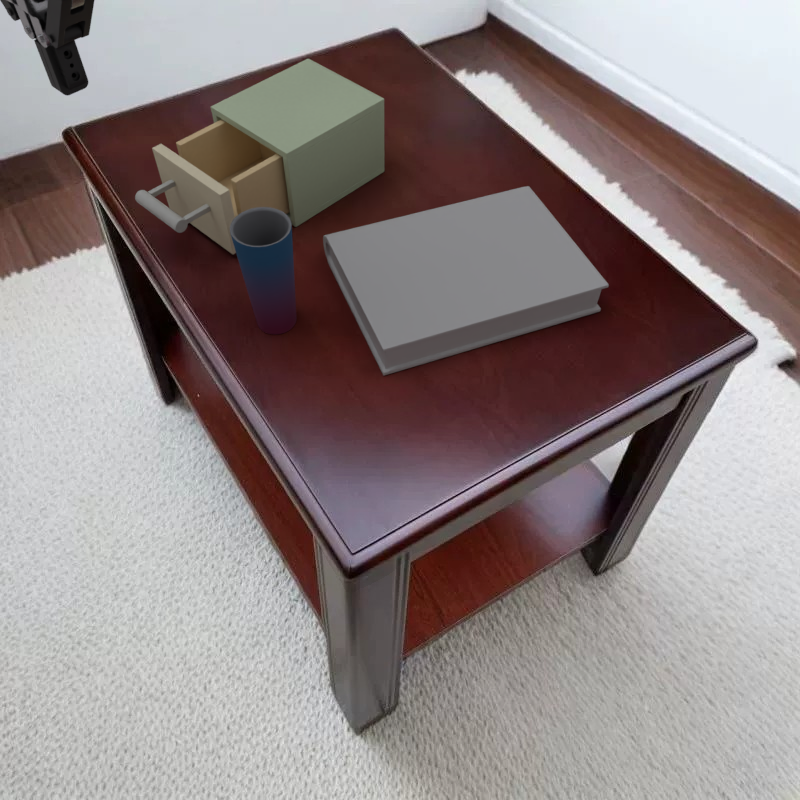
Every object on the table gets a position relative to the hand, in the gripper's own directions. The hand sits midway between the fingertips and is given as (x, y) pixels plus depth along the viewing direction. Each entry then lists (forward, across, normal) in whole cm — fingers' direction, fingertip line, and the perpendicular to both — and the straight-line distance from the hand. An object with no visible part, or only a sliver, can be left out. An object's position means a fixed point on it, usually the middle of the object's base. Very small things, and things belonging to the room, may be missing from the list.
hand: (71, 88), depth 54 cm
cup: (+25, +9, +8) cm, 28 cm away
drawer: (+24, -7, +16) cm, 30 cm away
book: (+25, +18, +26) cm, 40 cm away
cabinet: (+25, -7, +27) cm, 37 cm away
